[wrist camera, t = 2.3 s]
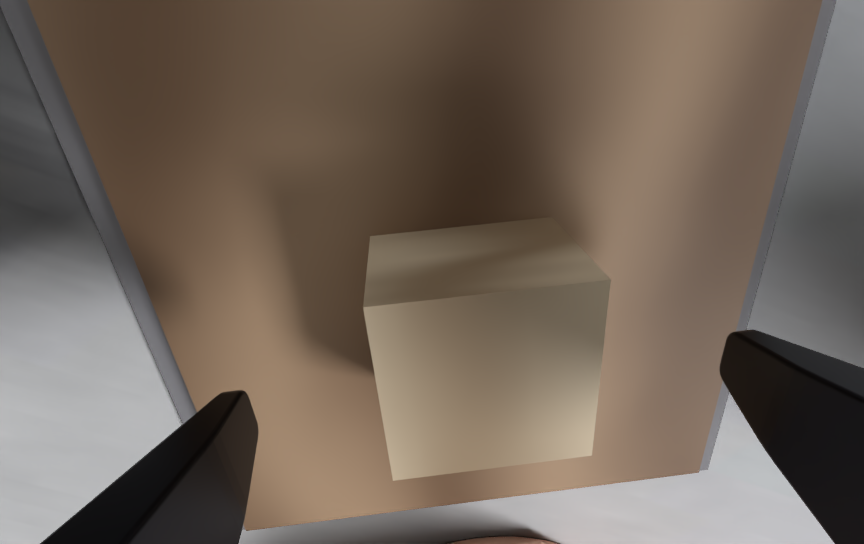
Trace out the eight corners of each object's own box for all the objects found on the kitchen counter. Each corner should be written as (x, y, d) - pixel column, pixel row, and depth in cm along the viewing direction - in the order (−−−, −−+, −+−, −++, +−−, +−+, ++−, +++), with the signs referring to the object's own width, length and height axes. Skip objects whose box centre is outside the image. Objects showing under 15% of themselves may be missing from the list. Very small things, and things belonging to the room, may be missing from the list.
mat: (860, -139, 9) (876, -145, 8) (702, 462, 16) (707, 469, 16) (-22, -71, 8) (-36, -75, 8) (232, 522, 15) (230, 531, 15)
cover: (807, -73, 9) (1072, -147, 5) (684, 452, 15) (769, 570, 12) (53, -10, 8) (-185, -48, 5) (253, 506, 14) (211, 648, 11)
